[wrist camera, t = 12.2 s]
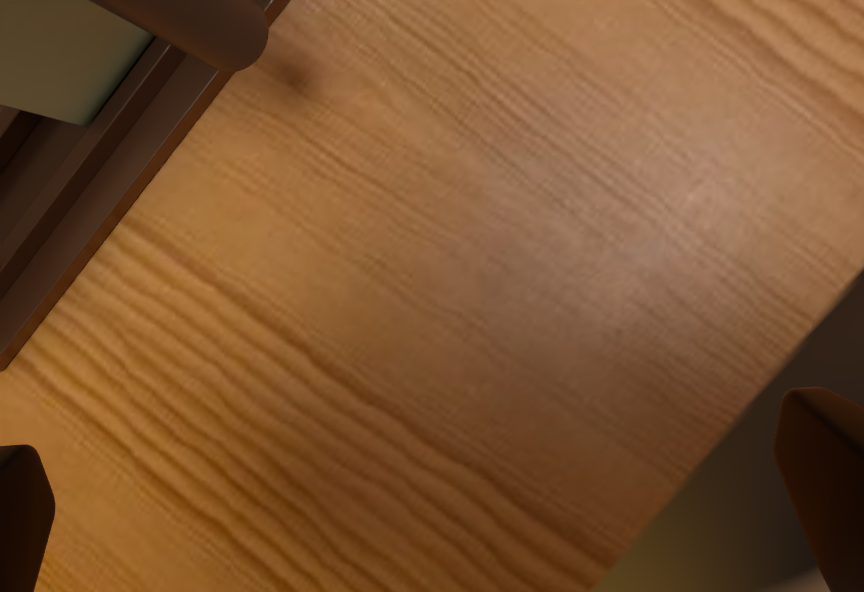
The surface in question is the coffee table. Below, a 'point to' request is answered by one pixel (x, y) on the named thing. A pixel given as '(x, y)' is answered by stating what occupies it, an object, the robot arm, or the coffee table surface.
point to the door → (112, 46)
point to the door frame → (88, 176)
